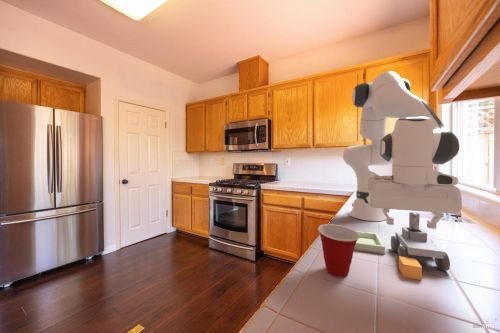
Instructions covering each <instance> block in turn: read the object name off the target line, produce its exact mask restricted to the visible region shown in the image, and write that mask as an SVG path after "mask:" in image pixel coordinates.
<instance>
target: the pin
mask: <svg viewBox="0 0 500 333" xmlns="http://www.w3.org/2000/svg"><path fill="white" fill-rule="evenodd" d="M420 215H421V214H420V213H419V212H416V211H410V212H409V216H408V217H409V218H408V223H409V224H408V227H409V231H413V232H419V229H420Z"/></svg>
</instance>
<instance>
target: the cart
mask: <svg viewBox="0 0 500 333" xmlns="http://www.w3.org/2000/svg"><path fill="white" fill-rule="evenodd" d="M394 234H395V235H391V236H390V248H391V251H392V252H397V258H398V260H399V256H401V257H407V258H410V255H411V256H419V257H425V258H426V257H429V258H432V259H433V258H434V263H435V266H436V268H437V269H438V270H441V271H447V272H448V271H449V270H450V268H451V265H450V264H451V262H450V258H449V255H448V254H447V252H446V251H443V249H441V248H440V247H439V246H438V245H437V244H435V243H434V241H433V240H432V239H429V237H428V232H426V231H425V230H424V229H422V228H419V232H413V231H409V226H402V227H401V231H395V232H394Z"/></svg>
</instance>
